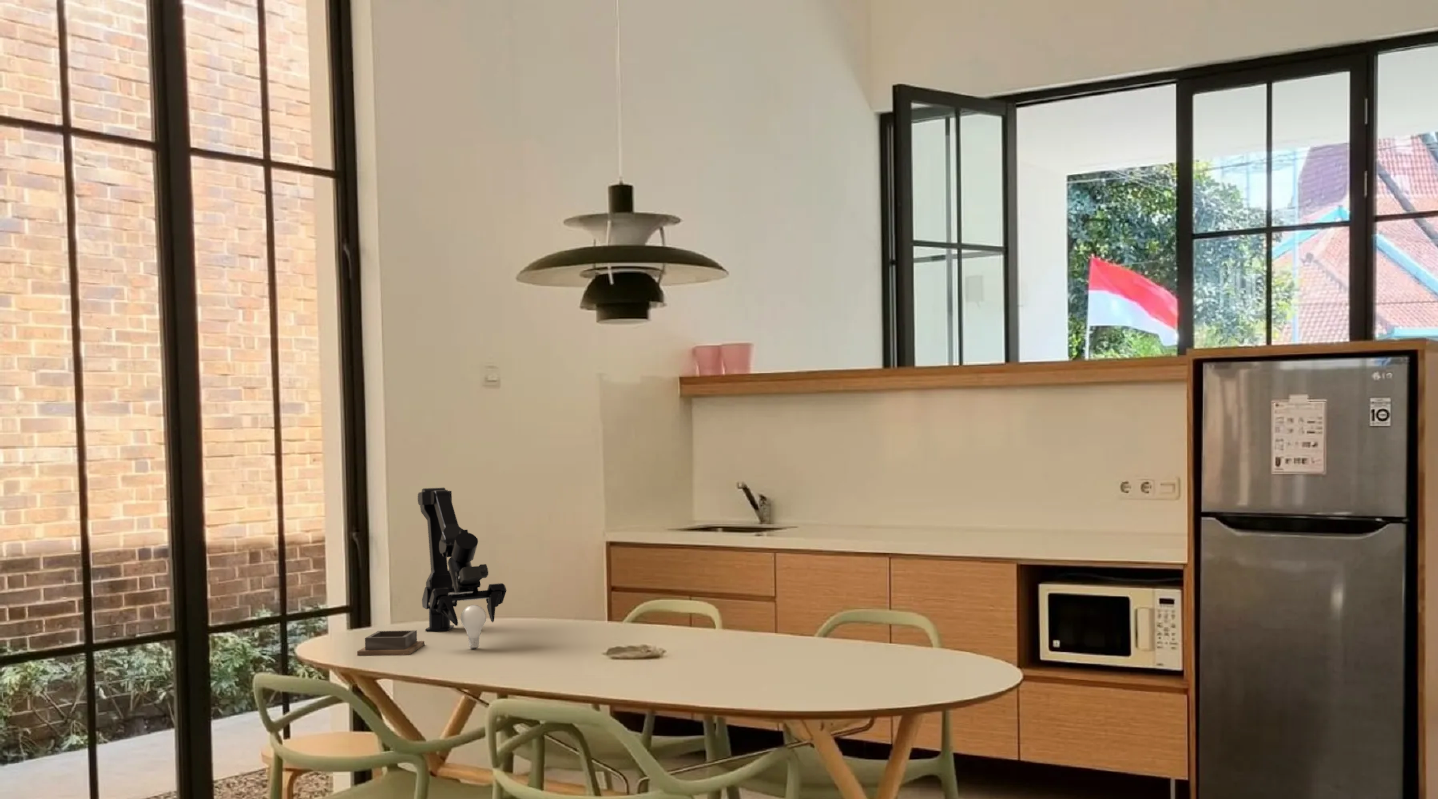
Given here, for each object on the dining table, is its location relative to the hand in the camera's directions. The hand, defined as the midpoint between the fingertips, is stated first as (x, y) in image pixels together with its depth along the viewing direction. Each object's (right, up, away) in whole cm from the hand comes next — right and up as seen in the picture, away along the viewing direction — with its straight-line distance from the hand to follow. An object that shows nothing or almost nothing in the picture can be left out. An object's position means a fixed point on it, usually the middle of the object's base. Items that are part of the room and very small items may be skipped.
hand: (475, 623), depth 298 cm
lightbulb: (0, -7, +1) cm, 7 cm away
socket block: (-21, -7, +2) cm, 23 cm away
